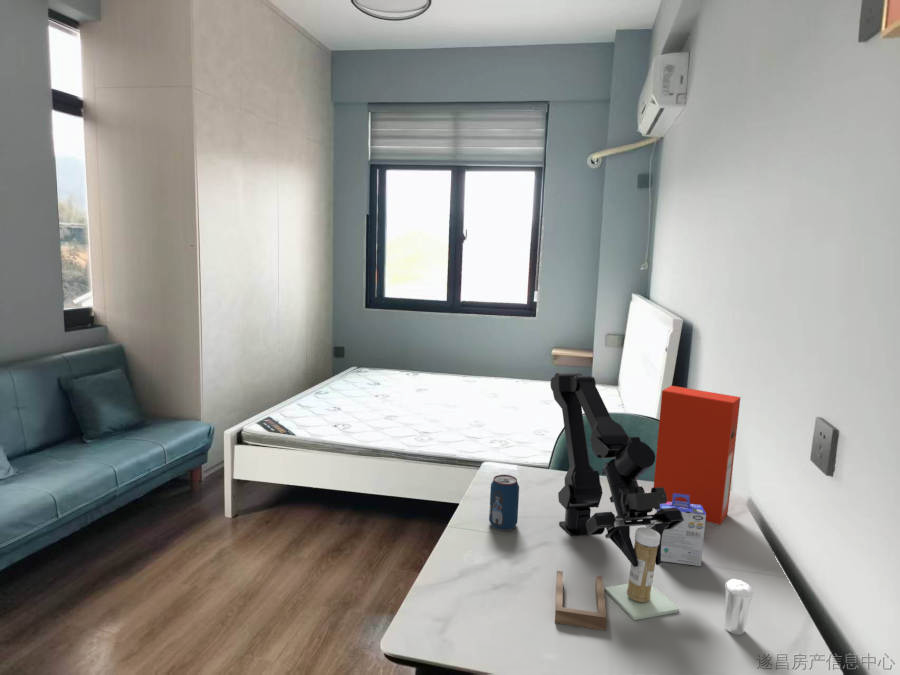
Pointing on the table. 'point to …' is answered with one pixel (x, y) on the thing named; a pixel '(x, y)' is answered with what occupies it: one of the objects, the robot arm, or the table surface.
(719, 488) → the red box
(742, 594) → the milkshake
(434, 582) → the table surface
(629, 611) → the pad
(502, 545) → the table surface
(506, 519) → the soda can
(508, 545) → the table surface
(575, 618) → the wooden holder
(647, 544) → the sprinkles bottle
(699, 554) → the ink cartridge box
